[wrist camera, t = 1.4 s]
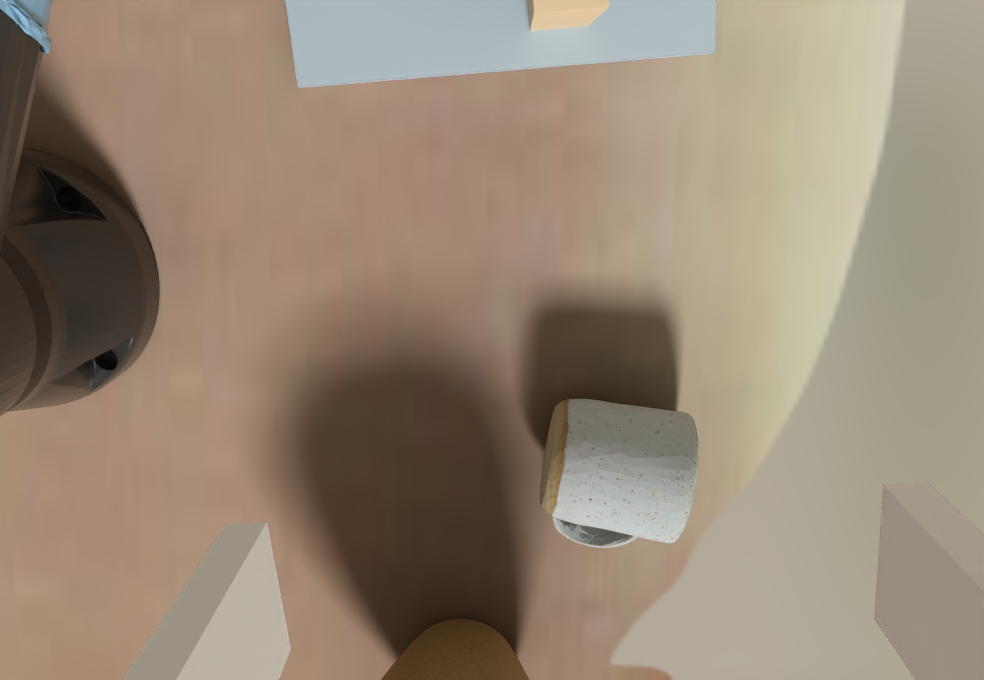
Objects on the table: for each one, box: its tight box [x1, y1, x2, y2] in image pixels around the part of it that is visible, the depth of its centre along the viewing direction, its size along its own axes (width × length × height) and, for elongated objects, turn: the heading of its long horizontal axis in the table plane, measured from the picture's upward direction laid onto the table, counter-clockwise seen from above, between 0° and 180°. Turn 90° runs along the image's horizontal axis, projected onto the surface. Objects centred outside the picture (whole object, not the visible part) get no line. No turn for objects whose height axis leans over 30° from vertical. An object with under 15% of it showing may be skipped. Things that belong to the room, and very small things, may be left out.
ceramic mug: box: [540, 399, 699, 548], centre depth 47 cm, size 11×8×8 cm
